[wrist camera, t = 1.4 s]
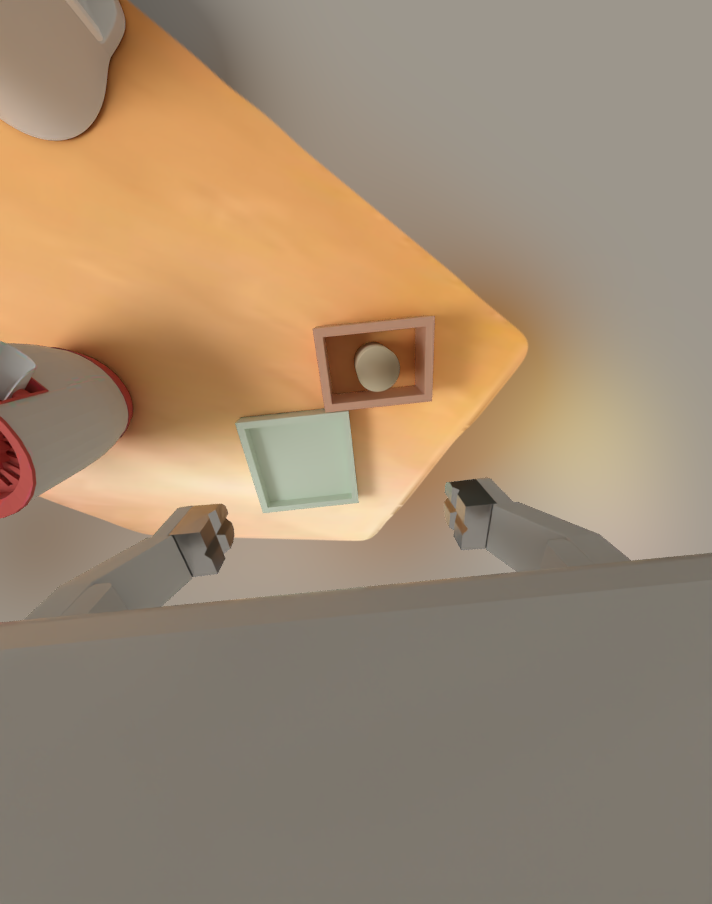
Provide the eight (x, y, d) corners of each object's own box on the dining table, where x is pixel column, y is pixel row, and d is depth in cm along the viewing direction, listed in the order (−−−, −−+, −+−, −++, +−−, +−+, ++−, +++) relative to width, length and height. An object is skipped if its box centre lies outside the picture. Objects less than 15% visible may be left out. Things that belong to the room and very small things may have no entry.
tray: (240, 417, 41) (235, 423, 38) (348, 406, 41) (348, 411, 38) (266, 504, 48) (263, 513, 46) (357, 494, 48) (358, 502, 46)
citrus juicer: (174, 378, 38) (24, 437, 20) (125, 464, 43) (-27, 571, 25) (46, 293, 33) (-312, 267, 15) (8, 403, 38) (-285, 481, 20)
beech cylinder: (352, 343, 37) (354, 349, 31) (389, 339, 37) (399, 345, 31) (355, 381, 39) (358, 393, 33) (390, 377, 39) (400, 389, 33)
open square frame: (316, 327, 36) (312, 328, 31) (422, 315, 36) (434, 315, 31) (327, 401, 40) (325, 412, 36) (421, 391, 40) (432, 401, 36)
